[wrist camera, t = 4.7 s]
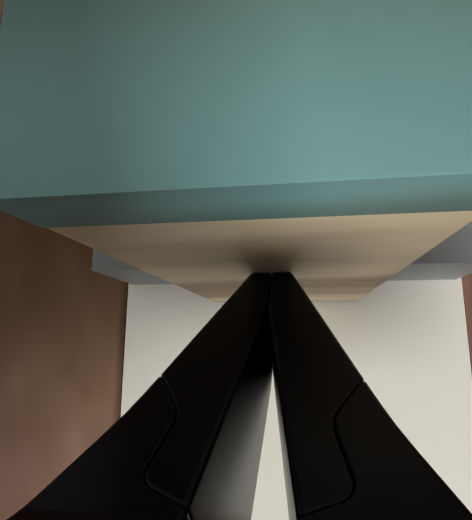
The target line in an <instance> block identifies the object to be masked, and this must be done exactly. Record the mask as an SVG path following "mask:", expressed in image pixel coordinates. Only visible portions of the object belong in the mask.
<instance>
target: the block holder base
mask: <svg viewBox="0 0 472 520" xmlns="http://www.w3.org/2000/svg"><path fill="white" fill-rule="evenodd" d="M91 271H94V272H97V273H100V274H103V275H106V276H109V277H112V278H115V279H118V280H121V281H124V282H127V283H129V285H128V302H127V318H126V335H125V352H124V369H123V386H122V402H121V417H122V416H123V415H124V414H125V413H126V412H127V411H128V410H129V409H130V408H131V407H132V406H133V405H134V403H135V402H136V401H137V400H138V399H139V398H140V397H141V396H142V395H143V394H144V393H145V392H146V391H147V390H148V388H149V387H150V386H151V385H152V384H153V383H154V382H155V381H156V379H157V378H158V377H162V376H161V375H162V373H163V372H164V371H165V370H166V368H167V367H168V366H169V365H170V364H171V363H172V362H173V361H174V359H175V358H176V357H177V356H178V355H179V354H180V353H181V352H182V350H183V349H184V348H185V347H186V346H187V345H188V344H189V343H190V341H191V340H192V339H193V338H194V337H195V336H196V335H197V334H198V332H199V331H200V330H201V329H202V328H203V327H204V326H205V325H206V324H207V322H208V321H209V320H210V319H211V318H212V317H213V316H214V315H215V313H216V312H217V311H218V310H219V309H220V308H221V307H222V306H223V304H224V303H225V302H213V301H211V300H209V299H207V298H204V297H202V296H200V295H197V294H195V293H193V292H191V291H188V290H186V289H184V288H181V287H179V286H177V285H175V284H172V283H170V282H168V281H166V280H163V279H161V278H159V277H156V276H154V275H152V274H150V273H147V272H145V271H143V270H141V269H138V268H136V267H134V266H131V265H129V264H127V263H125V262H122V261H120V260H118V259H115V258H113V257H111V256H109V255H106V254H104V253H102V252H100V251H97V250H95V249H93V257H92V269H91ZM471 273H472V221H471V222H470V223H468V224H467V225H465V226H464V227H462V228H461V229H460V230H458V231H457V232H455V233H454V234H452V235H451V236H450V237H448V238H447V239H445V240H444V241H442V242H441V243H440V244H438V245H437V246H435V247H434V248H432V249H431V250H430V251H428V252H427V253H425V254H424V255H422V256H421V257H420V258H418V259H417V260H415V261H414V262H412V263H411V264H410V265H408V266H407V267H405V268H404V269H402V270H401V271H400V272H398V273H397V274H395V275H394V276H393V277H391V278H390V279H388V280H387V281H385V282H384V283H383V284H381V285H380V286H378V287H377V288H375V289H374V290H373V291H371V292H370V293H368V294H367V295H365V296H364V297H363V298H361V299H360V300H358V301H311V302H312V303H313V304H314V306H315V307H316V309H317V310H318V312H319V313H320V315H321V316H322V318H323V319H324V321H325V322H326V324H327V325H328V327H329V328H330V330H331V331H332V333H333V334H334V336H335V337H336V339H337V340H338V342H339V343H340V345H341V346H342V347H343V349H344V350H345V352H346V353H347V355H348V356H349V358H350V359H351V361H352V362H353V364H354V365H355V367H356V368H357V370H358V371H359V373H360V374H361V376H362V377H363V379H364V382H366V383H367V384H368V386H369V387H370V389H371V390H372V392H373V393H374V395H375V396H376V398H377V399H378V400H379V402H380V403H381V405H382V406H383V407H384V409H385V410H386V411H387V413H388V414H389V416H390V417H391V418H392V420H393V421H394V422H395V424H396V425H397V426H398V427H399V429H400V430H401V431H402V432H403V434H404V435H405V436H406V437H407V438H408V440H409V441H410V442H411V443H412V444H413V446H414V447H415V448H416V449H417V451H418V452H419V453H420V454H421V455H422V456H423V458H424V459H425V460H426V461H427V462H428V463H429V465H430V466H431V467H432V468H433V469H434V470H435V472H436V473H437V474H438V475H439V476H440V477H441V478H442V480H443V481H444V482H445V483H446V484H447V485H448V487H449V488H450V489H451V490H452V491H453V492H454V493H455V495H456V496H457V497H458V498H459V499H460V500H461V502H462V503H463V504H464V505H465V506H466V507H467V509H468V510H469V511H470V512H471V513H472V376H471V367H470V357H469V347H468V338H467V328H466V319H465V309H464V299H463V290H462V280H461V277H463V276H466V275H468V274H471ZM251 520H289V514H288V505H287V496H286V487H285V478H284V469H283V460H282V452H281V443H280V434H279V425H278V416H277V407H276V398H275V389H274V378H273V375H272V384H271V391H270V398H269V405H268V411H267V418H266V424H265V431H264V438H263V444H262V451H261V457H260V464H259V471H258V477H257V484H256V490H255V497H254V504H253V510H252V517H251Z"/></svg>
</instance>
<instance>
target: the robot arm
mask: <svg viewBox="0 0 472 520" xmlns="http://www.w3.org/2000/svg"><path fill="white" fill-rule="evenodd" d="M272 375H273V378H274V389H275V398H276V407H277V416H278V425H279V434H280V443H281V452H282V460H283V469H284V478H285V487H286V496H287V505H288V514H289V520H472V513H471V512H470V511H469V510H468V509H467V507H466V506H465V505H464V504H463V503H462V502H461V500H460V499H459V498H458V497H457V496H456V495H455V493H454V492H453V491H452V490H451V489H450V488H449V487H448V485H447V484H446V483H445V482H444V481H443V480H442V478H441V477H440V476H439V475H438V474H437V473H436V472H435V470H434V469H433V468H432V467H431V466H430V465H429V463H428V462H427V461H426V460H425V459H424V458H423V456H422V455H421V454H420V453H419V452H418V451H417V449H416V448H415V447H414V446H413V444H412V443H411V442H410V441H409V440H408V438H407V437H406V436H405V435H404V434H403V432H402V431H401V430H400V429H399V427H398V426H397V425H396V424H395V422H394V421H393V420H392V418H391V417H390V416H389V414H388V413H387V411H386V410H385V409H384V407H383V406H382V405H381V403H380V402H379V400H378V399H377V398H376V396H375V395H374V393H373V392H372V390H371V389H370V387H369V386H368V384H367V383H366V382H364V379H363V377H362V376H361V374H360V373H359V371H358V370H357V368H356V367H355V365H354V364H353V362H352V361H351V359H350V358H349V356H348V355H347V353H346V352H345V350H344V349H343V347H342V346H341V345H340V343H339V342H338V340H337V339H336V337H335V336H334V334H333V333H332V331H331V330H330V328H329V327H328V325H327V324H326V322H325V321H324V319H323V318H322V316H321V315H320V313H319V312H318V310H317V309H316V307H315V306H314V304H313V303H312V302H311V300H310V299H309V297H308V296H307V294H306V293H305V291H304V290H303V288H302V287H301V285H300V284H299V282H298V281H297V279H296V278H295V276H294V275H293V274H292V273H291V272H274V273H273V274H272V276H271V274H270V273H268V272H266V273H251V274H250V275H249V276H248V277H247V279H246V280H245V281H244V282H243V283H242V284H241V285H240V286H239V288H238V289H237V290H236V291H235V292H234V293H233V294H232V295H231V297H230V298H229V299H228V300H227V301H226V302H225V303H224V304H223V306H222V307H221V308H220V309H219V310H218V311H217V312H216V313H215V315H214V316H213V317H212V318H211V319H210V320H209V321H208V322H207V324H206V325H205V326H204V327H203V328H202V329H201V330H200V331H199V332H198V334H197V335H196V336H195V337H194V338H193V339H192V340H191V341H190V343H189V344H188V345H187V346H186V347H185V348H184V349H183V350H182V352H181V353H180V354H179V355H178V356H177V357H176V358H175V359H174V361H173V362H172V363H171V364H170V365H169V366H168V367H167V368H166V370H165V371H164V372H163V373H162V375H161V376H162V377H158V378H157V379H156V381H155V382H154V383H153V384H152V385H151V386H150V387H149V388H148V390H147V391H146V392H145V393H144V394H143V395H142V396H141V397H140V398H139V399H138V400H137V401H136V402H135V403H134V405H133V406H132V407H131V408H130V409H129V410H128V411H127V412H126V413H125V414H124V415H123V416H122V417H121V418H120V419H119V420H118V421H117V422H116V423H115V424H114V425H113V426H111V427H110V428H109V429H108V430H107V431H106V432H105V433H104V434H103V435H102V436H101V437H100V438H99V439H98V440H97V441H96V442H95V443H94V444H92V445H91V446H90V447H89V448H88V449H87V450H86V451H85V452H84V453H83V454H82V455H80V456H79V457H78V458H77V459H76V460H75V461H74V462H73V463H72V464H71V465H70V466H69V467H67V468H66V469H65V470H64V471H63V472H62V473H61V474H60V475H59V476H58V477H57V478H55V479H54V480H53V481H52V482H51V483H50V484H49V485H48V486H47V487H46V488H45V489H44V490H42V491H41V492H40V493H39V494H38V495H37V496H36V497H35V498H34V499H32V500H31V501H30V502H29V503H28V504H27V505H26V506H24V507H23V508H22V509H21V510H19V511H18V512H17V513H15V514H14V515H13V516H11V517H10V518H9V519H7V520H251V517H252V510H253V504H254V497H255V490H256V484H257V477H258V471H259V464H260V457H261V451H262V444H263V438H264V431H265V424H266V418H267V411H268V405H269V398H270V391H271V384H272Z"/></svg>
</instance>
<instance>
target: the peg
mask: <svg viewBox="0 0 472 520" xmlns="http://www.w3.org/2000/svg"><path fill="white" fill-rule="evenodd" d="M0 211H2V212H5V213H7V214H9V215H12V216H14V217H16V218H19V219H21V220H23V221H26V222H28V223H30V224H33V225H35V226H37V227H39V228H47V229H49V230H52V231H54V232H56V233H59V234H61V235H63V236H65V237H68V238H70V239H72V240H75V241H77V242H79V243H81V244H84V245H86V246H88V247H90V248H93V249H95V250H97V251H100V252H102V253H104V254H106V255H109V256H111V257H113V258H115V259H118V260H120V261H122V262H125V263H127V264H129V265H131V266H134V267H136V268H138V269H141V270H143V271H145V272H147V273H150V274H152V275H154V276H156V277H159V278H161V279H163V280H166V281H168V282H170V283H172V284H175V285H177V286H179V287H181V288H184V289H186V290H188V291H191V292H193V293H195V294H197V295H200V296H202V297H204V298H207V299H209V300H211V301H213V302H226V301H227V300H228V299H229V298H230V297H231V295H232V294H233V293H234V292H235V291H236V290H237V289H238V288H239V286H240V285H241V284H242V283H243V282H244V281H245V280H246V279H247V277H248V276H249V275H250V274H251V273H266V272H268V273H270V274H271V276H272V274H273V273H274V272H291V273H292V274H293V275H294V276H295V278H296V279H297V281H298V282H299V284H300V285H301V287H302V288H303V290H304V291H305V293H306V294H307V296H308V297H309V299H310V300H311V301H358V300H360V299H361V298H363V297H364V296H365V295H367V294H368V293H370V292H371V291H373V290H374V289H375V288H377V287H378V286H380V285H381V284H383V283H384V282H385V281H387V280H388V279H390V278H391V277H393V276H394V275H395V274H397V273H398V272H400V271H401V270H402V269H404V268H405V267H407V266H408V265H410V264H411V263H412V262H414V261H415V260H417V259H418V258H420V257H421V256H422V255H424V254H425V253H427V252H428V251H430V250H431V249H432V248H434V247H435V246H437V245H438V244H440V243H441V242H442V241H444V240H445V239H447V238H448V237H450V236H451V235H452V234H454V233H455V232H457V231H458V230H460V229H461V228H462V227H464V226H465V225H467V224H468V223H470V222H471V221H472V0H4V6H3V13H2V20H1V27H0Z"/></svg>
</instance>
